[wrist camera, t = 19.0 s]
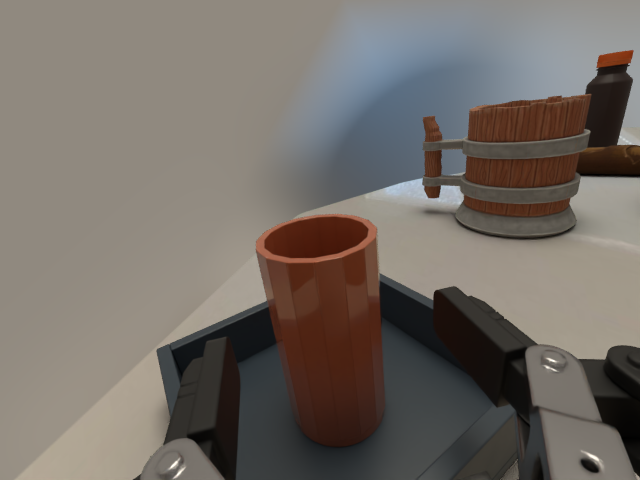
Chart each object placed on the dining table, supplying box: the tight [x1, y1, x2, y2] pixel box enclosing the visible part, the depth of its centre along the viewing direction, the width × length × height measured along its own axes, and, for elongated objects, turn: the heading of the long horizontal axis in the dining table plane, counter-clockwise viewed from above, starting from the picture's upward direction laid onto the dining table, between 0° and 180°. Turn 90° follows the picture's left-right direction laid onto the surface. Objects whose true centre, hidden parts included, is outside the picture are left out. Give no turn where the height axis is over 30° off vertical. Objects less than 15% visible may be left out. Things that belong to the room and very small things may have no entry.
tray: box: [157, 274, 518, 480], centre depth 18 cm, size 17×16×4 cm
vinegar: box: [585, 50, 633, 148], centre depth 63 cm, size 7×7×20 cm
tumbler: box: [256, 214, 386, 447], centre depth 16 cm, size 6×6×11 cm
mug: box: [422, 94, 591, 238], centre depth 41 cm, size 14×19×15 cm
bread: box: [576, 145, 640, 175], centre depth 55 cm, size 38×5×5 cm, turn 53°
